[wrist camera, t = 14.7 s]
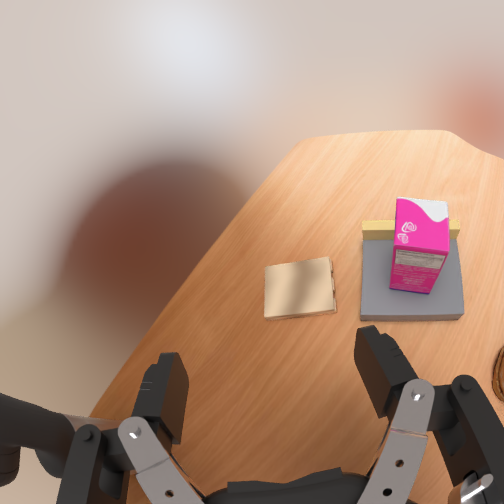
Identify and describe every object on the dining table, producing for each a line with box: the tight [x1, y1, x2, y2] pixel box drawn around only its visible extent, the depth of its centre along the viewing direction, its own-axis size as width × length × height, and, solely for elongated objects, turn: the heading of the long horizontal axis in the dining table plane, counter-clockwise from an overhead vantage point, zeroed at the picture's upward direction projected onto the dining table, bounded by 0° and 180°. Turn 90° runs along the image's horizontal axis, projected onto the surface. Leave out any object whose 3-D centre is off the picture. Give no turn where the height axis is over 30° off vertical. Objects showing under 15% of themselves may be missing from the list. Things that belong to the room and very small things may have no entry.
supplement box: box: [389, 197, 450, 294], centre depth 26 cm, size 6×6×12 cm
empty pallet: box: [264, 257, 337, 320], centre depth 38 cm, size 10×8×2 cm
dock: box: [360, 220, 464, 321], centre depth 31 cm, size 14×12×6 cm
